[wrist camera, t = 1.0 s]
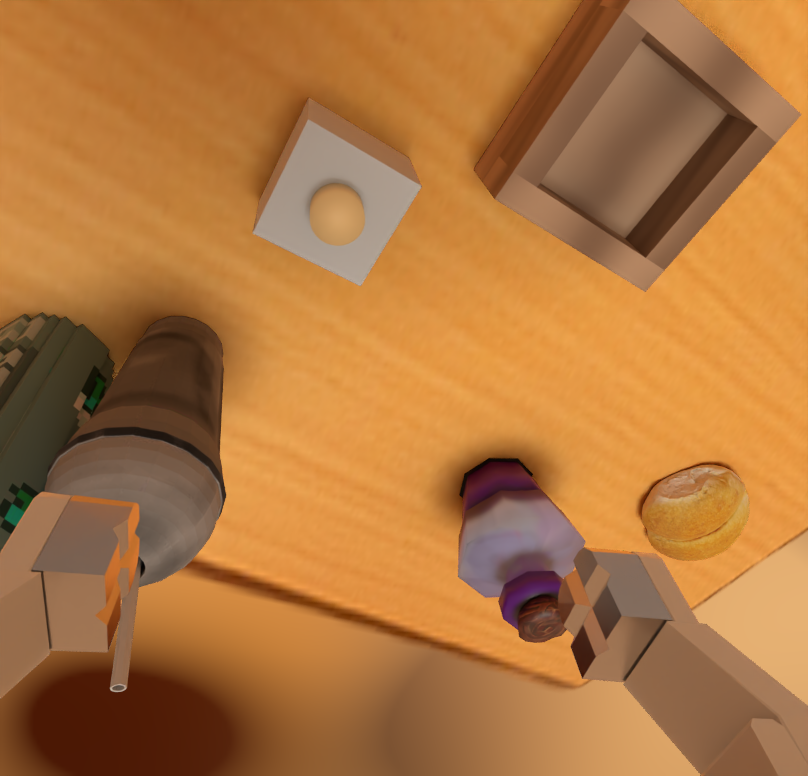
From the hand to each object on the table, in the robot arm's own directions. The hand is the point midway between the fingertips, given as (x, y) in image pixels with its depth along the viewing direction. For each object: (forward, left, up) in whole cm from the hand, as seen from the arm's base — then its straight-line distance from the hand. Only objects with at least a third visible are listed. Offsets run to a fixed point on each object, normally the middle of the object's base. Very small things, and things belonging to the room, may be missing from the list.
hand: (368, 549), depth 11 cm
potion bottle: (+21, -15, -24) cm, 36 cm away
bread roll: (+37, -10, -25) cm, 46 cm away
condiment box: (+11, +8, -24) cm, 28 cm away
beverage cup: (-3, -14, -24) cm, 28 cm away
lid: (0, -1, -24) cm, 24 cm away
